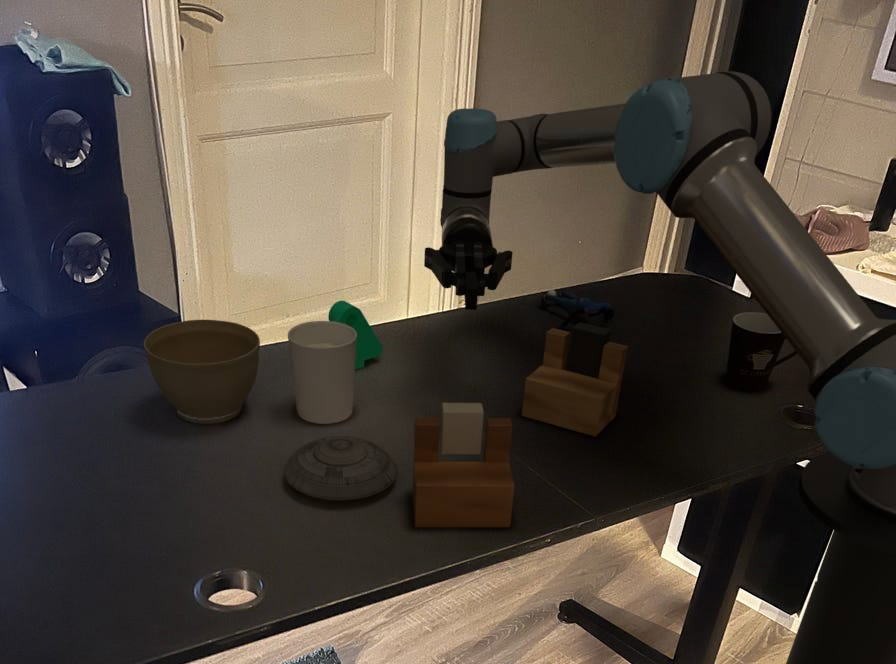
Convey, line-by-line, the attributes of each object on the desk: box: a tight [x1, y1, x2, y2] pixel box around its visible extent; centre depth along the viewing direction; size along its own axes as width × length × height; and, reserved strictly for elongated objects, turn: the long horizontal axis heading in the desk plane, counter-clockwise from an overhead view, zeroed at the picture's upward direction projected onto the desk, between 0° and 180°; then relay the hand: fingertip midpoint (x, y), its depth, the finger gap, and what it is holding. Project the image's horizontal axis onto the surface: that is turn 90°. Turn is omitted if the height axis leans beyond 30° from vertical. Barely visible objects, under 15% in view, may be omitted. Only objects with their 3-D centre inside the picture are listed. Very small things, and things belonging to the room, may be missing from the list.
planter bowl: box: [143, 319, 261, 425], centre depth 141 cm, size 16×16×11 cm
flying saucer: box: [283, 435, 398, 502], centre depth 128 cm, size 15×15×6 cm
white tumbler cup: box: [287, 320, 357, 425], centre depth 141 cm, size 10×10×12 cm
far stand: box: [521, 327, 629, 437], centre depth 143 cm, size 8×12×11 cm, turn 60°
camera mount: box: [327, 300, 383, 370], centre depth 156 cm, size 12×8×10 cm, turn 128°
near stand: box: [411, 417, 516, 528], centre depth 121 cm, size 8×12×11 cm, turn 93°
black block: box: [567, 321, 612, 374], centre depth 144 cm, size 3×5×6 cm, turn 60°
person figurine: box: [540, 289, 615, 329], centre depth 175 cm, size 11×4×18 cm
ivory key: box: [439, 402, 485, 455], centre depth 122 cm, size 3×5×6 cm, turn 93°
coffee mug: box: [724, 311, 798, 393], centre depth 154 cm, size 12×9×10 cm
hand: (471, 299), depth 127 cm, fingers closed
